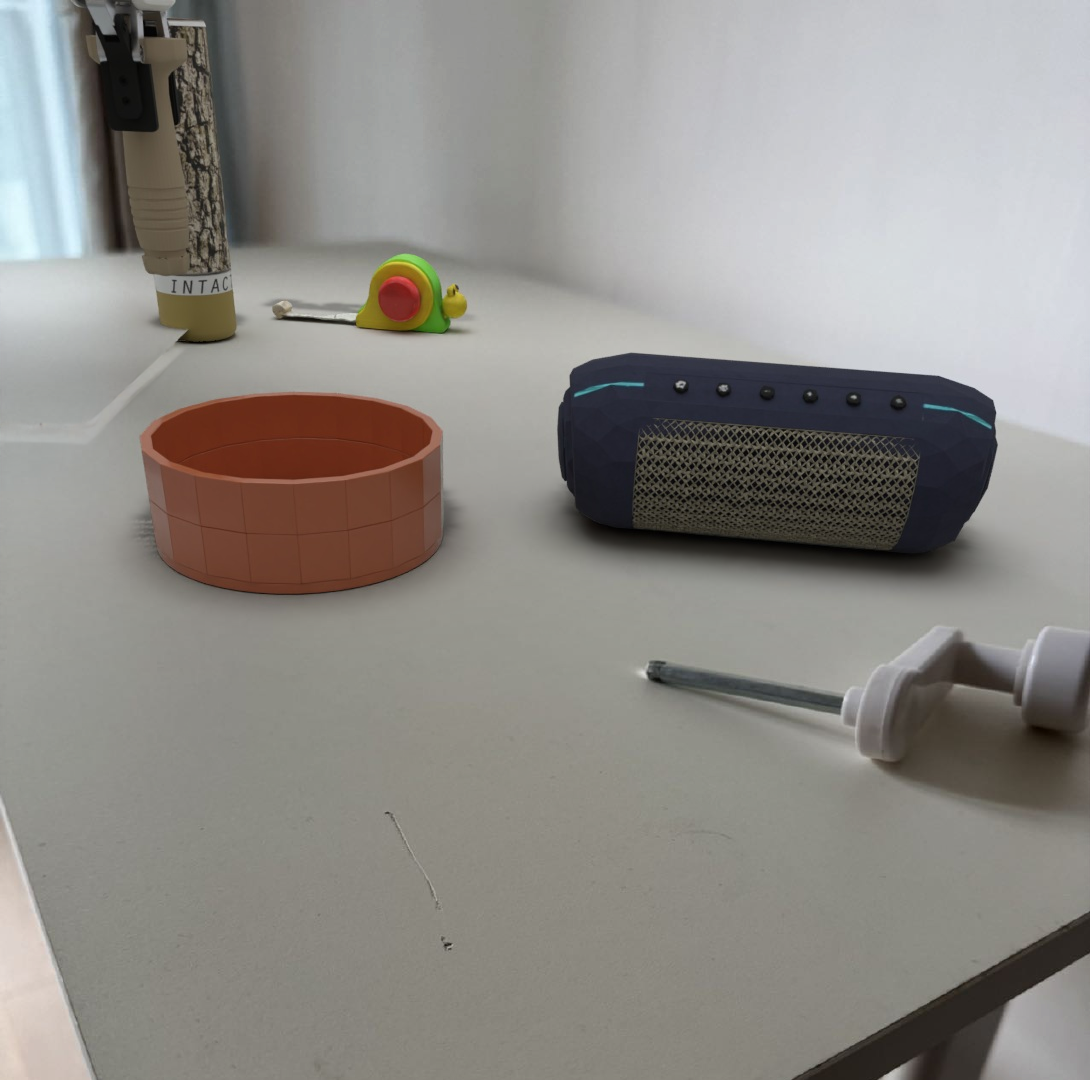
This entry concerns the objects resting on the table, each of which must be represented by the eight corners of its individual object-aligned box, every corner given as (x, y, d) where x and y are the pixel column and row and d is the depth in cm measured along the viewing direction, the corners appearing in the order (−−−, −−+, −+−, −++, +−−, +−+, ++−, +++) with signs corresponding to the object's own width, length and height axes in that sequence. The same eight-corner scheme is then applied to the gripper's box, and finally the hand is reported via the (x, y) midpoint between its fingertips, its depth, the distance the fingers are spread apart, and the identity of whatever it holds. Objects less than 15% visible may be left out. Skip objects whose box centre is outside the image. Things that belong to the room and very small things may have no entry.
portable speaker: (541, 547, 65) (548, 371, 60) (562, 488, 73) (570, 330, 68) (987, 587, 63) (1035, 408, 57) (956, 522, 71) (995, 360, 66)
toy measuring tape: (458, 339, 107) (458, 266, 104) (264, 323, 110) (258, 250, 106) (474, 325, 112) (474, 254, 109) (288, 310, 115) (283, 240, 111)
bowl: (119, 590, 58) (99, 477, 55) (195, 482, 72) (183, 387, 69) (433, 598, 59) (432, 487, 55) (449, 489, 72) (449, 396, 69)
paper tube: (149, 332, 105) (103, 14, 91) (216, 324, 109) (181, 18, 95) (182, 347, 100) (140, 16, 87) (251, 338, 104) (220, 19, 91)
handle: (208, 279, 82) (179, 40, 74) (117, 278, 82) (78, 36, 73) (216, 267, 86) (190, 38, 78) (129, 265, 86) (94, 34, 77)
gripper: (85, -188, 76) (128, 117, 86) (-16, -238, 62) (49, 135, 71) (197, -183, 76) (227, 121, 86) (122, -231, 62) (169, 140, 72)
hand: (146, 124), depth 79 cm, fingers closed on handle, 4 cm apart
